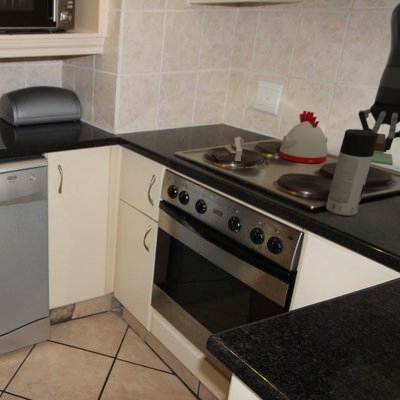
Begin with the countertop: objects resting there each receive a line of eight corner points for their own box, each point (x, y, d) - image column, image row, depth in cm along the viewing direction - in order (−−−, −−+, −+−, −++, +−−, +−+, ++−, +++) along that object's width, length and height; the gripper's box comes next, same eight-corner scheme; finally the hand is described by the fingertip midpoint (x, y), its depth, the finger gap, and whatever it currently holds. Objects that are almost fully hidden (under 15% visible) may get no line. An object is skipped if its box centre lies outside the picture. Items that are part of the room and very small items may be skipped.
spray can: (361, 218, 114) (385, 136, 106) (330, 215, 115) (352, 134, 107) (349, 207, 120) (371, 129, 112) (320, 205, 121) (340, 127, 113)
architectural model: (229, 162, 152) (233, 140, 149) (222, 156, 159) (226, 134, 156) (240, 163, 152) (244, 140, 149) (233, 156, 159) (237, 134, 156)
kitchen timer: (306, 150, 166) (314, 107, 160) (335, 161, 153) (346, 114, 148) (270, 152, 164) (277, 108, 158) (296, 163, 151) (305, 116, 146)
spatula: (364, 142, 136) (367, 132, 135) (390, 145, 133) (393, 135, 132) (363, 161, 119) (366, 149, 118) (392, 165, 116) (395, 153, 115)
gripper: (364, 84, 121) (346, 149, 128) (432, 89, 114) (410, 158, 121) (365, 80, 127) (348, 143, 134) (430, 85, 120) (408, 151, 127)
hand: (377, 150), depth 128 cm, fingers closed on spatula, 2 cm apart
